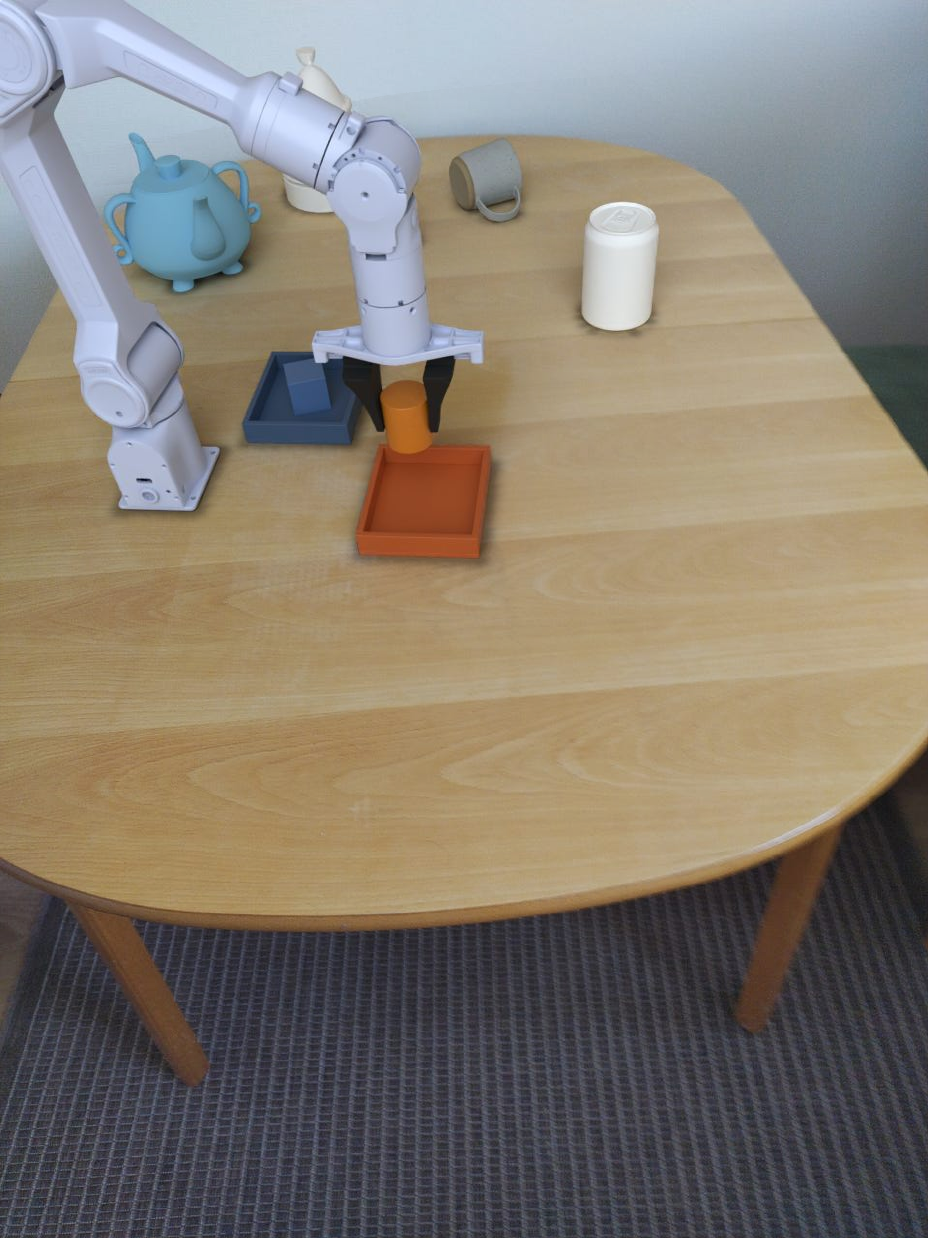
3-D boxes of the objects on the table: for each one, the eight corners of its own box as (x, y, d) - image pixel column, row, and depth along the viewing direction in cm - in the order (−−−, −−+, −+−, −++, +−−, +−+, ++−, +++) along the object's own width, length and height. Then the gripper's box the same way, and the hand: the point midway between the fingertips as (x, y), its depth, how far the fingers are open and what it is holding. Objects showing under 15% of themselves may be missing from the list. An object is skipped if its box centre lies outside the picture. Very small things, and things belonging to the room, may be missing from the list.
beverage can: (570, 326, 110) (573, 227, 101) (597, 292, 115) (601, 194, 106) (635, 341, 108) (644, 240, 99) (660, 305, 112) (671, 206, 103)
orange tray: (479, 558, 87) (477, 539, 85) (359, 554, 88) (355, 535, 86) (491, 465, 95) (490, 445, 93) (382, 462, 96) (378, 443, 94)
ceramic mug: (447, 199, 133) (443, 144, 127) (497, 184, 135) (496, 128, 130) (483, 231, 127) (481, 174, 121) (536, 214, 129) (536, 157, 123)
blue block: (331, 408, 102) (325, 377, 99) (295, 416, 102) (287, 384, 99) (326, 387, 105) (319, 356, 102) (290, 394, 104) (283, 363, 101)
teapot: (232, 307, 118) (202, 195, 107) (99, 290, 123) (57, 182, 112) (287, 243, 128) (264, 136, 117) (162, 230, 133) (129, 125, 122)
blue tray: (350, 444, 99) (347, 425, 97) (247, 442, 100) (241, 423, 98) (371, 370, 107) (368, 351, 105) (276, 369, 108) (271, 351, 107)
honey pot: (280, 181, 141) (252, 47, 127) (363, 165, 142) (344, 31, 129) (296, 219, 132) (268, 80, 119) (384, 201, 134) (366, 62, 121)
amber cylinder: (431, 454, 86) (425, 409, 82) (383, 453, 86) (376, 408, 83) (436, 424, 89) (432, 379, 85) (390, 424, 89) (384, 379, 86)
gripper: (484, 263, 78) (491, 399, 88) (313, 264, 80) (339, 398, 90) (476, 309, 73) (485, 447, 84) (295, 309, 75) (325, 445, 85)
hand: (409, 425), depth 86 cm, fingers closed on amber cylinder, 4 cm apart
